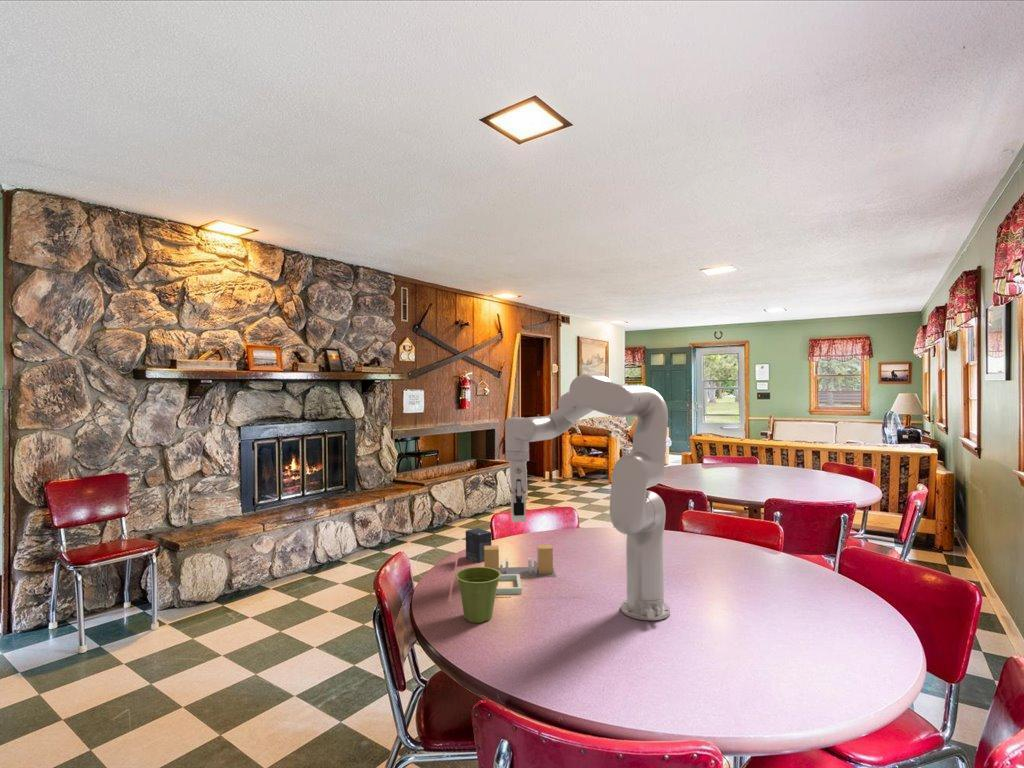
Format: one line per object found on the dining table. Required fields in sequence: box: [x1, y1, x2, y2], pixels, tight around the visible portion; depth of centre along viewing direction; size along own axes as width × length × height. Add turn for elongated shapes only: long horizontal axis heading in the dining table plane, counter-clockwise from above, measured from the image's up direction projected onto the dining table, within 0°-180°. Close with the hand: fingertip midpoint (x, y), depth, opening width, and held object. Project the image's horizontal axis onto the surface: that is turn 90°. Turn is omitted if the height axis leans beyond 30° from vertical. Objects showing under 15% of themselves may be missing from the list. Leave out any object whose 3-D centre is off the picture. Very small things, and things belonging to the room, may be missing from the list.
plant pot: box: [455, 566, 501, 624], centre depth 138 cm, size 12×12×11 cm
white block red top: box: [510, 488, 527, 523], centre depth 170 cm, size 4×4×10 cm
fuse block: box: [483, 543, 557, 579], centre depth 170 cm, size 10×23×9 cm, turn 92°
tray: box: [495, 574, 523, 599], centre depth 157 cm, size 12×12×2 cm
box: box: [465, 527, 492, 564], centre depth 184 cm, size 8×6×11 cm
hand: (518, 512), depth 170 cm, fingers closed on white block red top, 4 cm apart
